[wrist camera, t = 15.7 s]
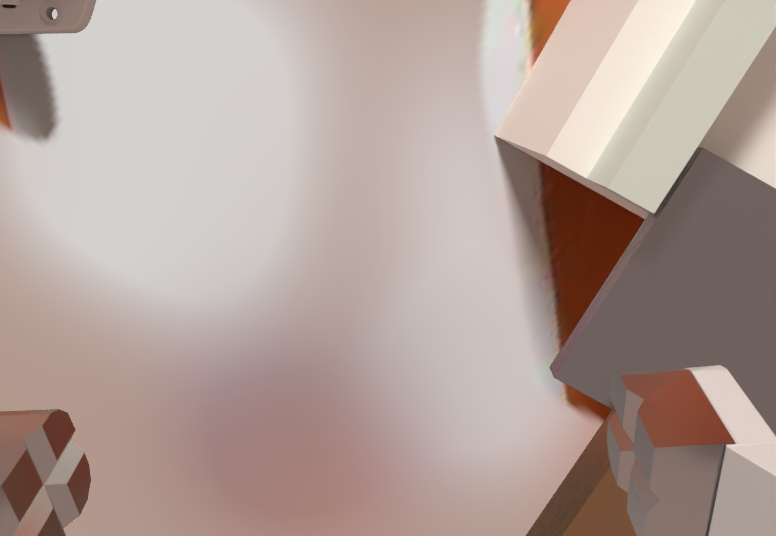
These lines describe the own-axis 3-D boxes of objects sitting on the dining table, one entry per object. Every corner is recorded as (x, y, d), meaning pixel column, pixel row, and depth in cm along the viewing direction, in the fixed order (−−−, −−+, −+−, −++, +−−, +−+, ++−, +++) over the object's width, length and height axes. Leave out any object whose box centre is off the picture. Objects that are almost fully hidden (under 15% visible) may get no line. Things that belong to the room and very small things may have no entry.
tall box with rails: (609, -68, 45) (883, -374, 17) (815, 51, 46) (1416, -54, 17) (493, 135, 49) (561, 162, 20) (687, 242, 49) (1014, 415, 21)
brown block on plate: (692, 146, 23) (720, 149, 20) (896, 261, 23) (947, 278, 21) (422, 563, 27) (420, 605, 25) (598, 656, 27) (612, 707, 25)
